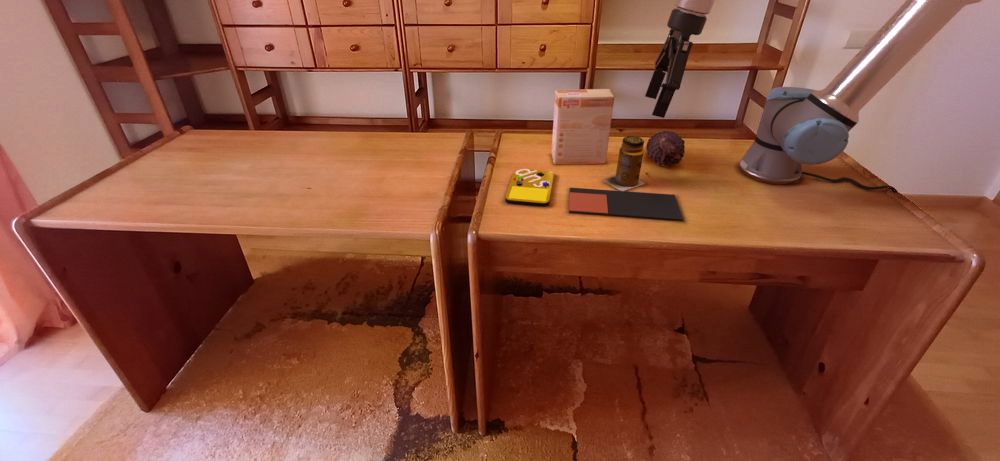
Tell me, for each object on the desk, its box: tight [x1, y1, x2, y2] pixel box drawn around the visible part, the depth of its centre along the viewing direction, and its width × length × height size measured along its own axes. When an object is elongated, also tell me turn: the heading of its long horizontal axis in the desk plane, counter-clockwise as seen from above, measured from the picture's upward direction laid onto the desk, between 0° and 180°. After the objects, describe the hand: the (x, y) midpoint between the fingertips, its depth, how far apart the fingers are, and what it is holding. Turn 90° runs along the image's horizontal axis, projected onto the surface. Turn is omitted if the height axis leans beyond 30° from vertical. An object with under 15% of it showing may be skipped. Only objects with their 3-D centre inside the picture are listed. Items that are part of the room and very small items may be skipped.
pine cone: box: [645, 130, 686, 167], centre depth 135 cm, size 18×10×10 cm
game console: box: [504, 168, 555, 208], centre depth 123 cm, size 18×11×2 cm, turn 171°
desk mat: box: [568, 187, 684, 222], centre depth 116 cm, size 26×12×1 cm, turn 82°
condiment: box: [602, 135, 646, 191], centre depth 123 cm, size 7×8×12 cm
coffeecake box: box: [551, 88, 615, 165], centre depth 133 cm, size 15×7×20 cm, turn 92°
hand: (653, 106), depth 114 cm, fingers open, 13 cm apart
